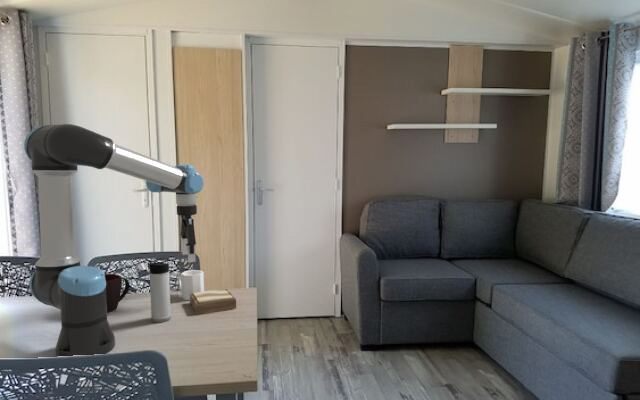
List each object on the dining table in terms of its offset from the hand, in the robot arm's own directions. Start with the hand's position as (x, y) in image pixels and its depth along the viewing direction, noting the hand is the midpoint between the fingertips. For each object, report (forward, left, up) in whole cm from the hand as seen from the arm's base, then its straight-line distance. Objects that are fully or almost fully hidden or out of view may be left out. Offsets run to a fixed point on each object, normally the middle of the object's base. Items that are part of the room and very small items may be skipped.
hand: (188, 258), depth 173 cm
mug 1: (-2, +28, -16) cm, 32 cm away
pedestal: (-15, -6, -15) cm, 22 cm away
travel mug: (-21, +13, -16) cm, 29 cm away
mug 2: (0, 0, -16) cm, 16 cm away
